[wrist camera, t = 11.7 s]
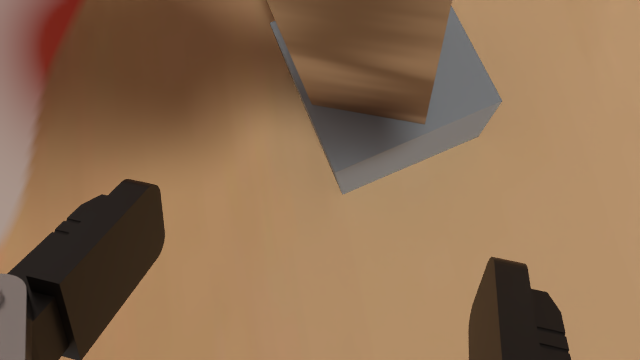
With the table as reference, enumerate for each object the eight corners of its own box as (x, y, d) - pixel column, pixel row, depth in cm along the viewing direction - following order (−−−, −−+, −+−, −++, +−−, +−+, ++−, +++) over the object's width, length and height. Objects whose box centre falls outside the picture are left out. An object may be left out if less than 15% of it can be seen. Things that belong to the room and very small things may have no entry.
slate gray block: (415, 17, 26) (424, -45, 21) (477, 137, 25) (502, 100, 20) (289, 72, 26) (269, 22, 21) (342, 195, 25) (334, 172, 20)
